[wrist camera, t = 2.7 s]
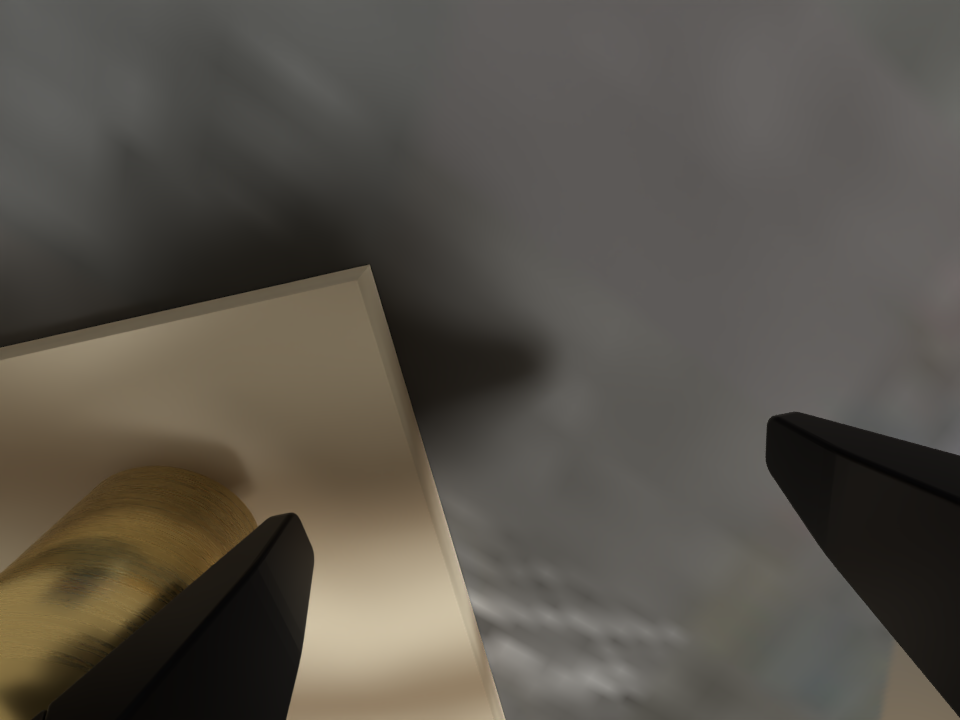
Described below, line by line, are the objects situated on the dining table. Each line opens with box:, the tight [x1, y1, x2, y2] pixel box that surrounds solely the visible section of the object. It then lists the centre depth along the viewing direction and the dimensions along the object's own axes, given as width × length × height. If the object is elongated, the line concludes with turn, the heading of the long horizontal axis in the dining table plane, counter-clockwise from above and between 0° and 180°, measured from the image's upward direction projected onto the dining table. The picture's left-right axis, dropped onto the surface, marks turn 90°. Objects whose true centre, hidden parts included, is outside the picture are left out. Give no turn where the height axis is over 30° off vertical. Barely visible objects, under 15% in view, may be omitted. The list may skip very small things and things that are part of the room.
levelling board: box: [0, 264, 505, 720], centre depth 13 cm, size 20×18×2 cm
